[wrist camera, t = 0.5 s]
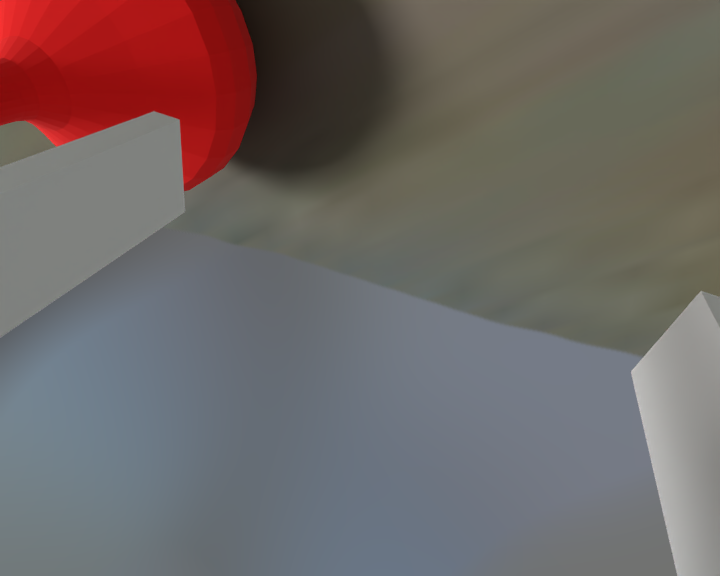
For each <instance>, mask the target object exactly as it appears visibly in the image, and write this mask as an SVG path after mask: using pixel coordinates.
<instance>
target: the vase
mask: <svg viewBox="0 0 720 576" xmlns="http://www.w3.org/2000/svg"><path fill="white" fill-rule="evenodd" d="M256 83H257V72H256V64H255V57H254V49H253V43H252V40H251V37H250V35H249V32H248V29H247V26H246V23H245V20H244V17H243V14H242V11H241V10H240V8H239V6H238V4H237V3H236V1H235V0H0V125H4V124H7V123H11V122H15V121H27V122H29V123H32V124H33V125H35V126H36V127H37V128H38V129H39V130H40V131H41V132H43V133H44V134H45V135H46V136H47V137H48V138H49V140H50V141H51V142H52V143H53V144H54V145H55V146H60V145H63V144H66V143H68V142H71V141H74V140H77V139H79V138H82V137H85V136H88V135H90V134H93V133H96V132H98V131H101V130H104V129H107V128H109V127H112V126H115V125H118V124H120V123H123V122H126V121H129V120H131V119H134V118H137V117H140V116H142V115H145V114H148V113H151V112H153V111H155V112H158V113H161V114H164V115H167V116H170V117H173V118H176V119H179V120H180V134H181V151H182V168H183V185H184V191H187V190H190V189H192V188H193V187H195V186H196V185H198V184H200V183H201V182H203V181H205V180H206V179H208V178H209V177H211V176H212V175H214V174H215V173H217V172H218V171H220V170H221V169H223V168H224V167H225V166H226V164H227V163H228V162H229V160H230V159H231V158H232V157H233V155H234V154H235V153H236V151H237V150H238V149H239V147H240V144H241V141H242V138H243V136H244V133H245V130H246V127H247V124H248V122H249V119H250V116H251V113H252V110H253V107H254V105H255V95H256Z"/></svg>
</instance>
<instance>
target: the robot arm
mask: <svg viewBox="0 0 720 576" xmlns="http://www.w3.org/2000/svg"><path fill="white" fill-rule="evenodd" d="M184 212H185V202H184V185H183V168H182V151H181V134H180V120H179V119H176V118H173V117H170V116H167V115H164V114H161V113H158V112H155V111H153V112H151V113H148V114H145V115H142V116H140V117H137V118H134V119H131V120H129V121H126V122H123V123H120V124H118V125H115V126H112V127H109V128H107V129H104V130H101V131H98V132H96V133H93V134H90V135H88V136H85V137H82V138H79V139H77V140H74V141H71V142H68V143H66V144H63V145H60V146H57V147H55V148H52V149H49V150H46V151H44V152H41V153H38V154H35V155H33V156H30V157H27V158H24V159H22V160H19V161H16V162H13V163H11V164H8V165H5V166H3V167H0V337H2V336H3V335H5V334H6V333H8V332H9V331H11V330H12V329H14V328H15V327H16V326H18V325H19V324H21V323H22V322H24V321H25V320H26V319H28V318H30V317H31V316H33V315H34V314H36V313H37V312H39V311H40V310H42V309H43V308H44V307H46V306H47V305H49V304H50V303H52V302H53V301H54V300H56V299H58V298H59V297H61V296H62V295H64V294H65V293H67V292H68V291H69V290H71V289H72V288H74V287H75V286H77V285H78V284H80V283H81V282H83V281H84V280H85V279H87V278H89V277H90V276H92V275H93V274H94V273H96V272H97V271H99V270H100V269H102V268H103V267H105V266H106V265H108V264H109V263H111V262H112V261H113V260H115V259H116V258H118V257H119V256H121V255H122V254H124V253H125V252H127V251H128V250H130V249H131V248H133V247H134V246H136V245H137V244H138V243H140V242H141V241H143V240H144V239H146V238H147V237H149V236H150V235H152V234H153V233H155V232H156V231H158V230H159V229H161V228H162V227H164V226H165V225H166V224H168V223H169V222H171V221H172V220H174V219H175V218H177V217H178V216H180V215H181V214H183V213H184ZM631 375H632V379H633V383H634V388H635V392H636V396H637V401H638V405H639V410H640V414H641V418H642V423H643V427H644V431H645V436H646V440H647V445H648V449H649V454H650V458H651V462H652V467H653V471H654V475H655V480H656V484H657V489H658V493H659V497H660V502H661V506H662V510H663V515H664V519H665V523H666V528H667V532H668V536H669V541H670V545H671V550H672V554H673V558H674V563H675V567H676V571H677V576H720V297H718V296H715V295H712V294H709V293H706V292H703V291H700V293H699V294H698V295H697V296H696V297H695V298H694V299H693V301H692V302H691V303H690V304H689V305H688V306H687V308H686V309H685V310H684V311H683V312H682V313H681V314H680V316H679V317H678V318H677V319H676V320H675V321H674V323H673V324H672V325H671V326H670V327H669V328H668V329H667V331H666V332H665V333H664V334H663V335H662V336H661V338H660V339H659V340H658V341H657V342H656V343H655V344H654V346H653V347H652V348H651V349H650V350H649V351H648V353H647V354H646V355H645V356H644V357H643V358H642V359H641V361H640V362H639V363H638V364H637V365H636V366H635V368H634V369H633V370H632V371H631Z"/></svg>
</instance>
